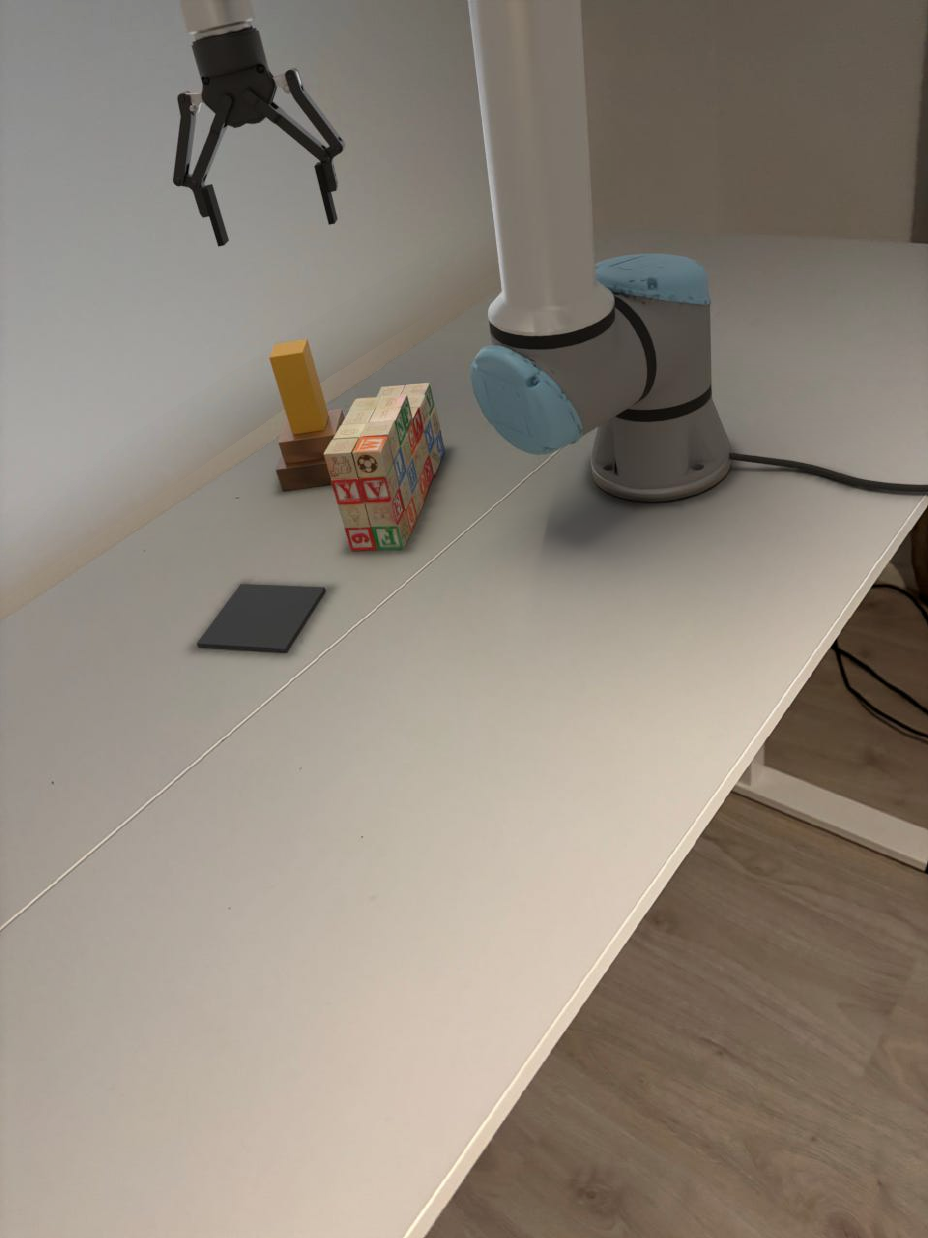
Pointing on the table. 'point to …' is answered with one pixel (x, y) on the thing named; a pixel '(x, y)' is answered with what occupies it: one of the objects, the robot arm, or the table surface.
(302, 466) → the dark wooden step block
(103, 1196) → the table surface
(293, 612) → the mat
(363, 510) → the stack of blocks
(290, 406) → the bar
